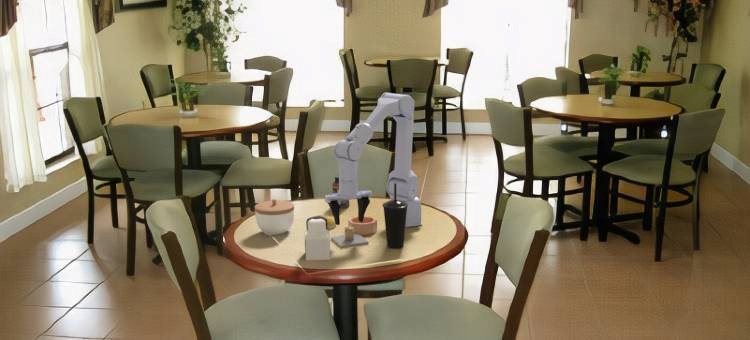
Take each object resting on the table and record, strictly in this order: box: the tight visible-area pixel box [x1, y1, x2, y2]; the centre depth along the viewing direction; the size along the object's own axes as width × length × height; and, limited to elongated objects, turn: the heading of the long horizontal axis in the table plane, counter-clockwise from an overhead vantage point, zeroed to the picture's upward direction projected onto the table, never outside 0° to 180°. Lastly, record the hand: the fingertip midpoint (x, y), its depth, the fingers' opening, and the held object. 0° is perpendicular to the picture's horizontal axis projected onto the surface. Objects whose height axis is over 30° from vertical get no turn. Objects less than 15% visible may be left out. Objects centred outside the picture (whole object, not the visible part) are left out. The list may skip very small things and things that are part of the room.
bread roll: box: [317, 214, 337, 231], centre depth 253 cm, size 8×9×4 cm
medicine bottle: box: [304, 215, 331, 261], centre depth 224 cm, size 7×7×12 cm
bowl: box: [347, 215, 378, 236], centre depth 248 cm, size 9×9×4 cm
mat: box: [330, 236, 373, 251], centre depth 237 cm, size 11×11×1 cm
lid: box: [330, 226, 370, 248], centre depth 237 cm, size 9×9×4 cm
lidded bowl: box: [254, 198, 295, 237], centre depth 247 cm, size 13×13×11 cm
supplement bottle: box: [332, 174, 350, 209], centre depth 276 cm, size 6×6×11 cm
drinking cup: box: [382, 183, 408, 250], centre depth 231 cm, size 8×8×20 cm
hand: (349, 222), depth 236 cm, fingers open, 7 cm apart
